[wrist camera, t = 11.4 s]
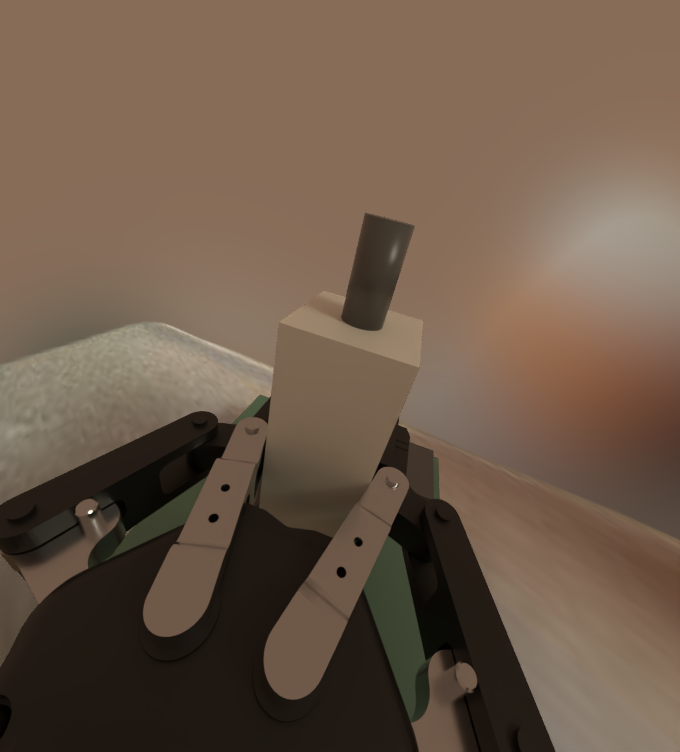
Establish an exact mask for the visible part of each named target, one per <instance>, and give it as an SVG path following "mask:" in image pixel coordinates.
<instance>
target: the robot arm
mask: <svg viewBox="0 0 680 752" xmlns="http://www.w3.org/2000/svg"><path fill="white" fill-rule="evenodd" d="M270 401H271V397H270V398H269V399H268V401H266V403H265V404H264V405H263V406H262V407H261V408H260V409H259V411H258V412H257V413H256V414H255V415H254V416H253V417H248V418H245V419H242V420H241V421H239V422H238V423H237V424H225V423H218V419H217V417H216V416H215V415H214V414H213V413H210V412H206V411H199V412H194V413H191V414H189V415H187V416H185V417H183V418H181V419H179V420H176V421H174V422H172V423H170V424H168V425H166V426H164V427H162V428H160V429H157V430H155V431H153V432H151V433H149V434H147V435H145V436H143V437H141V438H138V439H136V440H134V441H132V442H130V443H128V444H126V445H124V446H121V447H119V448H117V449H115V450H113V451H111V452H109V453H107V454H105V455H102V456H100V457H98V458H96V459H94V460H92V461H90V462H88V463H86V464H83V465H81V466H79V467H77V468H75V469H73V470H71V471H69V472H67V473H64V474H62V475H60V476H58V477H56V478H54V479H52V480H50V481H48V482H45V483H43V484H41V485H39V486H37V487H35V488H33V489H31V490H29V491H26V492H24V493H22V494H20V495H18V496H16V497H14V498H12V499H10V500H8V501H6V502H5V503H3V504H1V505H0V554H1V555H2V556H3V557H4V559H5V560H6V561H7V562H8V563H9V565H10V566H11V567H12V568H13V569H14V570H15V571H17V572H19V574H20V575H21V576H22V577H23V578H24V580H25V581H26V582H27V584H28V585H29V587H30V589H31V591H32V593H33V594H34V596H35V598H36V600H37V602H38V604H39V605H38V606H37V607H36V608H35V610H34V611H33V612H32V613H31V615H30V616H29V617H28V619H27V620H26V622H25V623H24V625H23V626H22V628H21V630H20V632H19V634H18V636H17V638H16V640H15V642H14V644H13V646H12V648H11V650H10V652H9V654H8V655H7V657H6V659H5V661H4V662H3V664H2V666H1V667H0V752H555V749H554V747H553V744H552V742H551V739H550V737H549V734H548V732H547V730H546V727H545V725H544V722H543V720H542V717H541V715H540V713H539V710H538V708H537V705H536V703H535V700H534V698H533V695H532V693H531V691H530V688H529V686H528V683H527V681H526V678H525V676H524V674H523V671H522V669H521V666H520V664H519V661H518V659H517V656H516V654H515V652H514V649H513V647H512V644H511V642H510V639H509V637H508V635H507V632H506V630H505V627H504V625H503V622H502V620H501V617H500V615H499V613H498V610H497V608H496V605H495V603H494V600H493V598H492V595H491V593H490V591H489V588H488V586H487V583H486V581H485V578H484V576H483V574H482V571H481V569H480V566H479V564H478V561H477V559H476V556H475V554H474V552H473V549H472V547H471V544H470V542H469V539H468V537H467V535H466V532H465V530H464V527H463V525H462V522H461V520H460V517H459V515H458V513H457V512H456V510H455V509H454V508H453V507H452V506H451V505H450V504H448V503H447V502H445V501H443V500H440V499H431V500H429V501H426V500H425V499H424V498H422V497H421V496H419V495H418V494H417V493H415V492H414V491H413V490H412V488H411V487H410V486H409V482H408V479H407V478H406V473H407V462H408V451H409V441H410V436H409V433H408V431H407V428H404V427H401V426H399V425H398V422H399V417H398V420H397V422H396V424H395V427H394V429H393V431H392V434H391V436H390V438H389V441H388V443H387V445H386V448H385V450H384V453H383V455H382V457H381V460H380V462H379V464H378V467H377V469H376V471H375V474H374V476H373V478H372V481H371V483H370V485H369V486H368V488H367V490H366V491H365V493H364V494H363V496H362V497H361V499H360V501H359V502H358V503H356V504H355V505H354V507H353V508H352V510H351V511H350V513H349V514H348V516H347V517H346V519H345V520H344V522H343V524H342V525H341V527H340V528H339V530H338V531H337V533H336V534H335V536H334V538H332V537H330V536H327V535H325V534H322V533H320V532H317V531H315V530H307V529H299V528H292V527H287V526H286V525H284V524H283V523H282V522H280V521H279V520H278V519H277V518H275V517H274V516H273V515H271V514H270V513H269V512H267V511H266V510H264V509H261V508H259V507H256V506H254V504H255V500H256V497H257V493H258V489H259V486H260V482H261V479H262V475H263V466H264V457H265V447H266V438H267V429H268V420H269V411H270ZM207 476H208V477H207ZM206 477H207V479H206V481H205V483H204V486H203V488H202V490H201V492H200V494H199V496H198V498H197V500H196V502H195V505H194V507H193V509H192V511H191V513H190V515H189V517H188V519H187V521H186V523H185V524H183V525H181V526H178V527H176V528H174V529H172V530H170V531H168V532H166V533H163V534H161V535H159V536H157V537H155V538H153V539H150V540H148V541H146V542H144V543H142V544H140V545H138V546H135V547H133V548H131V549H129V550H127V551H125V552H122V553H120V554H118V555H116V556H114V557H112V558H110V559H107V558H109V557H110V556H112V555H113V553H114V552H115V550H116V549H117V547H118V546H119V545H120V544H121V543H122V541H123V539H124V537H125V533H126V531H128V530H129V529H131V528H132V527H134V526H135V525H137V524H138V523H140V522H141V521H143V520H144V519H145V518H147V517H148V516H150V515H151V514H153V513H154V512H156V511H157V510H159V509H160V508H162V507H163V506H165V505H166V504H167V503H169V502H170V501H172V500H173V499H175V498H176V497H178V496H179V495H181V494H182V493H184V492H185V491H187V490H188V489H189V488H191V487H192V486H194V485H195V484H197V483H198V482H200V481H201V480H203V479H204V478H206ZM387 536H389V537H390V538H392V539H393V540H394V541H395V542H397V543H398V544H399V545H400V546H402V552H403V557H404V562H405V566H406V571H407V576H408V580H409V585H410V590H411V594H412V599H413V604H414V608H415V613H416V618H417V622H418V627H419V632H420V636H421V641H422V646H423V650H424V655H425V660H426V661H425V662H424V663H423V664H422V665H421V666H420V667H419V669H418V671H417V674H416V678H415V693H416V706H415V711H414V715H413V717H412V719H411V721H410V718H409V716H408V713H407V710H406V707H405V704H404V702H403V699H402V696H401V693H400V690H399V687H398V685H397V682H396V679H395V676H394V673H393V671H392V668H391V665H390V662H389V659H388V657H387V654H386V651H385V648H384V645H383V642H382V640H381V637H380V634H379V631H378V628H377V626H376V623H375V620H374V617H373V614H372V611H371V609H370V606H369V603H368V600H367V597H366V594H365V592H364V589H363V587H364V585H365V583H366V581H367V579H368V577H369V574H370V572H371V570H372V568H373V566H374V564H375V562H376V559H377V557H378V555H379V553H380V551H381V549H382V547H383V544H384V542H385V540H386V538H387ZM105 559H107V560H105ZM104 560H105V561H104Z"/></svg>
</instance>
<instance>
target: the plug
mask: <svg viewBox="0 0 680 752" xmlns="http://www.w3.org/2000/svg"><path fill="white" fill-rule="evenodd" d="M413 230H414V225H411V224H408V223H404V222H401V221H397V220H393V219H389V218H386V217H381V216H377V215H373V214H368V213H365V216H364V220H363V224H362V228H361V233H360V237H359V242H358V246H357V250H356V255H355V259H354V263H353V268H352V272H351V277H350V281H349V285H348V289H347V294H346V297H343V296H340V295H337V294H333V293H330V292H327V291H323V292H321V293H320V294H319V295H317V296H316V297H314V298H313V299H312V300H310V301H309V302H308V303H306V304H304V305H303V306H302V307H300V308H299V309H297V310H296V311H294V312H293V313H292V314H290V315H289V316H287V317H286V318H285V319H283V320H282V321H280V322H279V328H278V337H277V346H276V356H275V365H274V374H273V383H272V392H271V401H270V411H269V420H268V429H267V438H266V447H265V457H264V466H263V475H262V484H261V493H260V503H259V508H261V509H264V510H266V511H267V512H269V513H270V514H271V515H273V516H274V517H275V518H277V519H278V520H279V521H280V522H282V523H283V524H284V525H286V526H287V527H292V528H299V529H307V530H315V531H317V532H320V533H322V534H325V535H327V536H330V537H332V538H334V536H335V534H336V533H337V531H338V530H339V528H340V527H341V525H342V524H343V522H344V520H345V519H346V517H347V516H348V514H349V513H350V511H351V510H352V508H353V507H354V505H355V504H356V503H358V502H359V501H360V499H361V497H362V496H363V494H364V493H365V491H366V490H367V488H368V486H369V485H370V483H371V481H372V478H373V476H374V474H375V471H376V469H377V467H378V464H379V462H380V460H381V457H382V455H383V453H384V450H385V448H386V445H387V443H388V441H389V438H390V436H391V434H392V431H393V429H394V427H395V424H396V422H397V420H398V417H399V415H400V413H401V410H402V408H403V406H404V403H405V401H406V399H407V396H408V394H409V391H410V389H411V387H412V384H413V382H414V380H415V377H416V375H417V372H418V370H419V368H420V354H421V340H422V326H423V320H419V319H416V318H413V317H410V316H406V315H403V314H399V313H396V312H393V311H389V310H388V309H389V306H390V302H391V300H392V296H393V293H394V290H395V287H396V283H397V280H398V277H399V274H400V271H401V268H402V265H403V262H404V259H405V255H406V252H407V249H408V246H409V243H410V240H411V237H412V233H413Z"/></svg>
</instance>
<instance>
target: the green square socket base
mask: <svg viewBox="0 0 680 752" xmlns="http://www.w3.org/2000/svg"><path fill="white" fill-rule="evenodd" d="M268 399H269V398H268V397H266V396H263V395H259V396H258V397H257V398H256V399H255V400H254V402H253V403H252V404H251V405H250V406H249V407H248V408H247V409H246V410H245V411H244V412H243V413H242V414H241V415H240V416H239V417H238V418H237V419H236V421H235V422H234V423H233V424H237V423H238V422H239V421H241V420H242V419H245V418H248V417H253V416H254V415H255V414H256V413H257V412H258V411H259V409H260V408H261V407H262V406H263V405H264V404H265V403H266V401H268ZM207 477H208V476H207ZM207 477H206V478H204V479H203V480H201V481H200V482H198V483H197V484H195V485H194V486H192V487H191V488H189V489H188V490H187V491H185V492H184V493H182V494H181V495H179V496H178V497H176V498H175V499H173V500H172V501H170V502H169V503H167V504H166V505H165V506H163V507H162V508H160V509H159V510H157V511H156V512H154V513H153V514H151V515H150V516H148V517H147V518H145V519H144V520H143V521H141V522H140V523H138V524H137V525H136V526H135V527H134V528H133V529H132V530H131V531H130V533H129V534H128V535H127V536H126V537H125V538H124V539H123V541H122V543H121V544H120V545H119V546H118V547H117V549H116V550H115V552H114V553H113V555H112V556H110V557H109V558H107V559H110V558H112V557H114V556H116V555H118V554H120V553H122V552H125V551H127V550H129V549H131V548H133V547H135V546H138V545H140V544H142V543H144V542H146V541H148V540H150V539H153V538H155V537H157V536H159V535H161V534H163V533H166V532H168V531H170V530H172V529H174V528H176V527H178V526H181V525H183V524H185V523H186V521H187V519H188V517H189V515H190V513H191V511H192V509H193V507H194V505H195V502H196V500H197V498H198V496H199V494H200V492H201V490H202V488H203V486H204V483H205V481H206V479H207ZM406 478H407V479H408V482H409V486H410V487H411V488H412V490H413V491H414V492H415V493H417V494H418V495H419V496H421V497H422V498H424V499H425V500H426V501H429V500H431V499H439V468H438V458H436V457H433V450H430V449H427V448H424V447H421V446H418V445H416V444H413V443H410V442H409V451H408V462H407V473H406ZM261 484H262V479H261V482H260V486H259V489H258V493H257V497H256V500H255V504H254V506H256V507H259V503H260V493H261ZM107 559H105V560H107ZM105 560H104V561H105ZM363 589H364V592H365V594H366V597H367V600H368V603H369V606H370V609H371V611H372V614H373V617H374V620H375V623H376V626H377V628H378V631H379V634H380V637H381V640H382V642H383V645H384V648H385V651H386V654H387V657H388V659H389V662H390V665H391V668H392V671H393V673H394V676H395V679H396V682H397V685H398V687H399V690H400V693H401V696H402V699H403V702H404V704H405V707H406V710H407V713H408V716H409V718H410V721H411V719H412V717H413V715H414V711H415V706H416V693H415V678H416V674H417V671H418V669H419V667H420V666H421V665H422V664H423V663H424V662H425V661H426V660H425V655H424V650H423V646H422V641H421V636H420V632H419V627H418V622H417V618H416V613H415V608H414V604H413V599H412V594H411V590H410V585H409V580H408V576H407V571H406V566H405V562H404V557H403V552H402V546H400V545H399V544H398V543H397V542H395V541H394V540H393V539H392V538H390V537H389V536H387V538H386V540H385V542H384V544H383V547H382V549H381V551H380V553H379V555H378V557H377V559H376V562H375V564H374V566H373V568H372V570H371V572H370V574H369V577H368V579H367V581H366V583H365V585H364V587H363Z"/></svg>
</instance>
